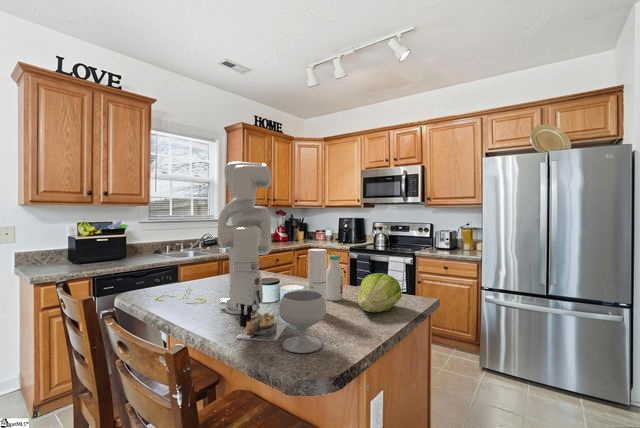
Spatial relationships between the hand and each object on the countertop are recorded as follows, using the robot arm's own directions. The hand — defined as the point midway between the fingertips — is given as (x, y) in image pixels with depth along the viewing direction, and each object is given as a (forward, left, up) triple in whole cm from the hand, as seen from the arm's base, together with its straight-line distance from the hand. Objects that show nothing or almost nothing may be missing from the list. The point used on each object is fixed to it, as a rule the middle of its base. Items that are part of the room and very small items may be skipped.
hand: (245, 325), depth 100 cm
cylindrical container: (+19, +29, -5) cm, 35 cm away
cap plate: (+4, +6, -4) cm, 8 cm away
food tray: (+3, +3, -2) cm, 5 cm away
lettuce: (+42, +36, -5) cm, 55 cm away
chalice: (+18, -2, -5) cm, 19 cm away
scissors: (-45, +41, -5) cm, 61 cm away
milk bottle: (+24, +51, -5) cm, 57 cm away
